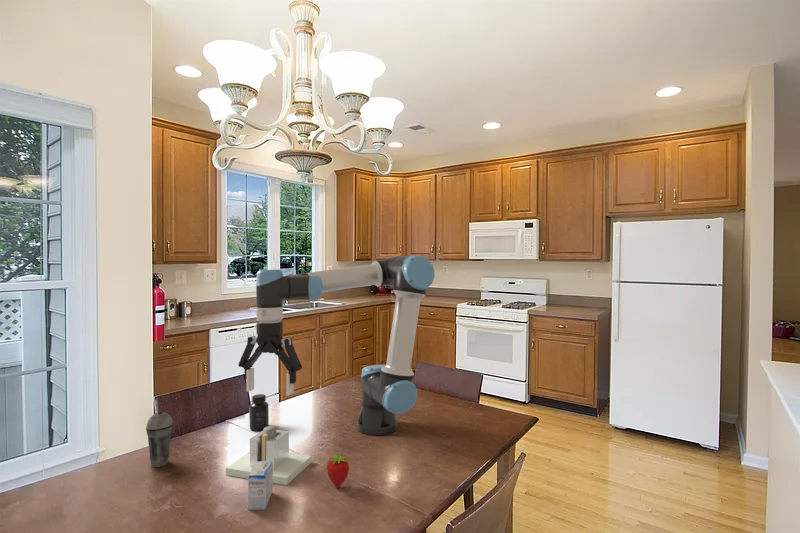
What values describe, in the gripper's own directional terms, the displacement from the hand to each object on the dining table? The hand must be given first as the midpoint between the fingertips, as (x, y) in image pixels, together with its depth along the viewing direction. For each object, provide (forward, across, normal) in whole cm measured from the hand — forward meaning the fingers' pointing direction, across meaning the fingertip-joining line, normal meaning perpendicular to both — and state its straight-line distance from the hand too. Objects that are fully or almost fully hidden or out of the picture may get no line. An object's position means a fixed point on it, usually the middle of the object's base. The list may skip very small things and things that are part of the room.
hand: (269, 392), depth 126 cm
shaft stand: (+23, 0, 0) cm, 23 cm away
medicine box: (+23, +8, -16) cm, 29 cm away
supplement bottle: (+23, -22, +26) cm, 41 cm away
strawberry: (+23, +24, -4) cm, 33 cm away
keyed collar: (+21, 0, 0) cm, 21 cm away
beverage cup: (+23, -34, -7) cm, 42 cm away
